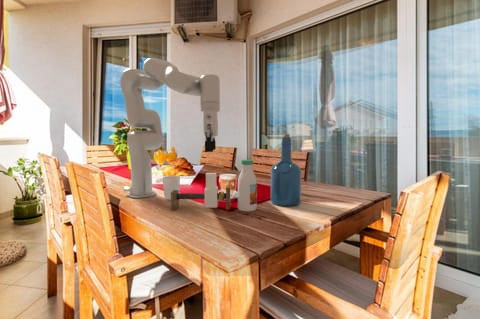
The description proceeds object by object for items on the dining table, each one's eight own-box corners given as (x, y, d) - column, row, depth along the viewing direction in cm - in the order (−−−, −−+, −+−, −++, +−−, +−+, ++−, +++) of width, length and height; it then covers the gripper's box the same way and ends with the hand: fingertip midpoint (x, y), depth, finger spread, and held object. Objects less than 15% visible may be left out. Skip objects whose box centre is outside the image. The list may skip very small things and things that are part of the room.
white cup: (176, 200, 123) (175, 178, 121) (160, 199, 124) (159, 178, 123) (183, 196, 130) (182, 176, 129) (168, 195, 132) (167, 175, 131)
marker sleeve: (204, 207, 108) (204, 174, 106) (206, 203, 113) (205, 172, 112) (217, 207, 108) (216, 174, 106) (218, 203, 113) (217, 172, 112)
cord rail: (171, 210, 108) (170, 188, 107) (174, 206, 113) (173, 185, 112) (229, 209, 108) (229, 187, 107) (230, 206, 113) (230, 185, 112)
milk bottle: (243, 213, 103) (243, 161, 101) (234, 208, 110) (234, 159, 108) (260, 210, 107) (260, 160, 105) (250, 205, 114) (250, 158, 112)
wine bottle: (273, 198, 126) (274, 133, 123) (302, 200, 122) (304, 133, 119) (266, 205, 113) (267, 134, 110) (298, 208, 109) (300, 134, 106)
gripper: (218, 105, 97) (218, 152, 99) (221, 109, 115) (221, 149, 117) (197, 105, 97) (197, 152, 99) (203, 109, 115) (203, 149, 117)
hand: (210, 150), depth 108 cm, fingers open, 9 cm apart
